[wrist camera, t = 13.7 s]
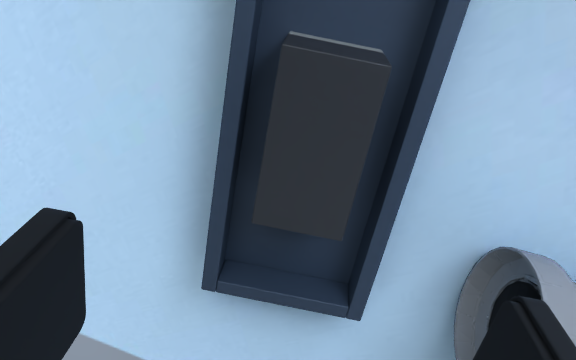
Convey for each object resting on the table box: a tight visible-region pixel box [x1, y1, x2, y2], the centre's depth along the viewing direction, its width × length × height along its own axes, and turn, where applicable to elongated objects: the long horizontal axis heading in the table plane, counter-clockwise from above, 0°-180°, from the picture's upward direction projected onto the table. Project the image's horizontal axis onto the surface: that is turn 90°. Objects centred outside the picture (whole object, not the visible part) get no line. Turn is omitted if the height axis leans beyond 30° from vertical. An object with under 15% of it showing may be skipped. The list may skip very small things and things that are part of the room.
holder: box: [201, 0, 470, 321], centre depth 21 cm, size 9×20×2 cm, turn 170°
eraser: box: [251, 31, 392, 241], centre depth 20 cm, size 4×8×4 cm, turn 170°
